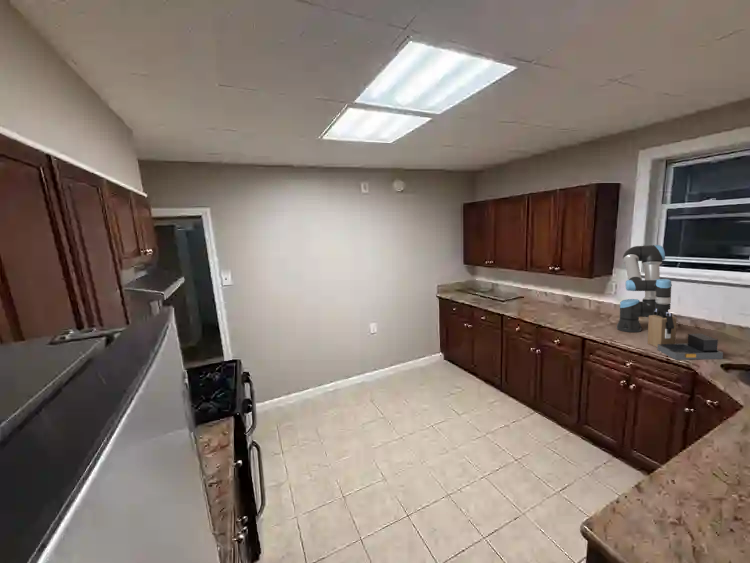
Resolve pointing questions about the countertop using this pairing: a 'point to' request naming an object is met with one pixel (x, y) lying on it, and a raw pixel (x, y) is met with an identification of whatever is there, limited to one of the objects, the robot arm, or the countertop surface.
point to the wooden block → (660, 331)
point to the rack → (693, 348)
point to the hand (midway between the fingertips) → (661, 335)
